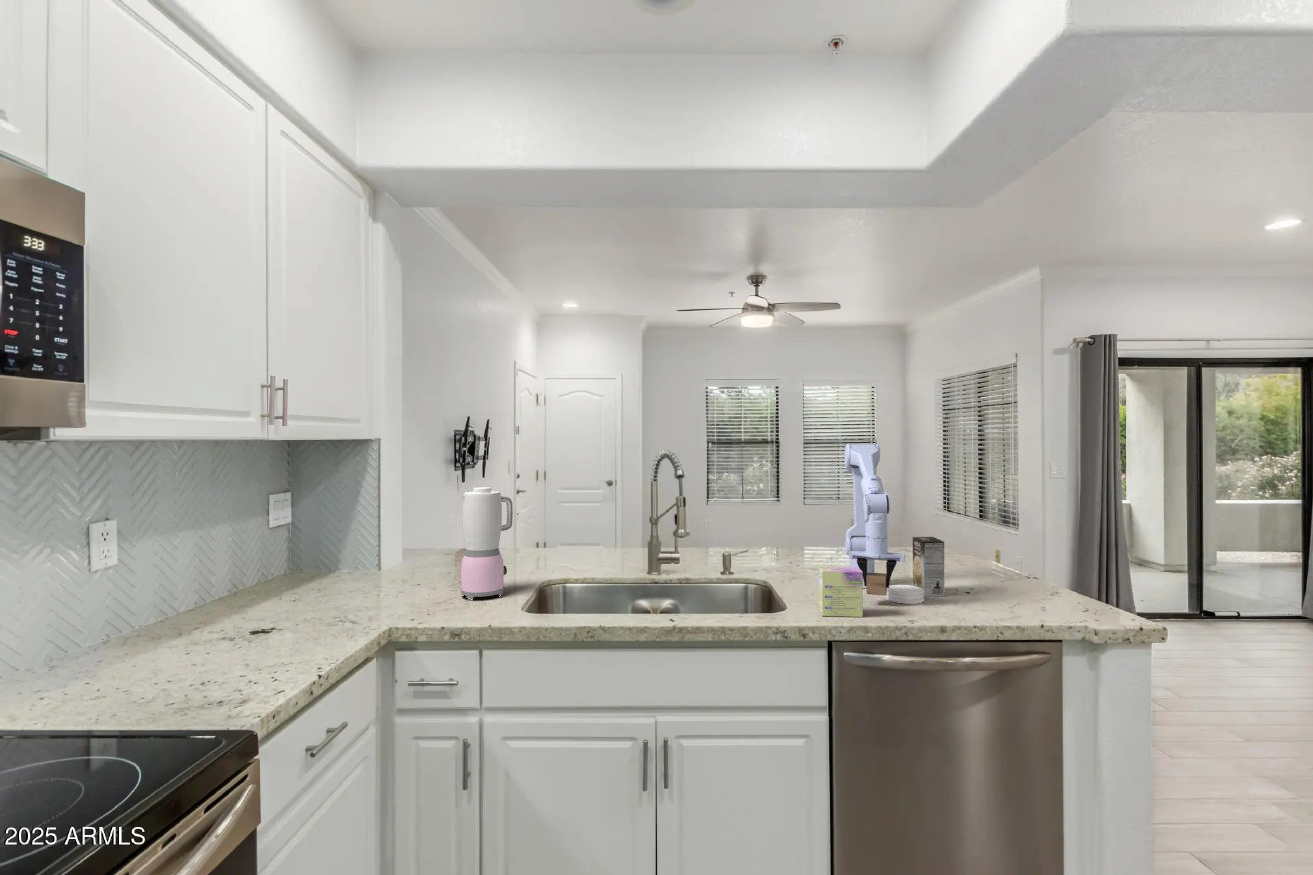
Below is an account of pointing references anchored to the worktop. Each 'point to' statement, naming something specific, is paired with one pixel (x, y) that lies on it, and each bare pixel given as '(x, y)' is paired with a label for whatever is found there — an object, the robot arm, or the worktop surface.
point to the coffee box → (928, 565)
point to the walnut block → (876, 583)
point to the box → (841, 592)
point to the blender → (483, 542)
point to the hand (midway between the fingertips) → (876, 586)
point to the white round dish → (905, 594)
